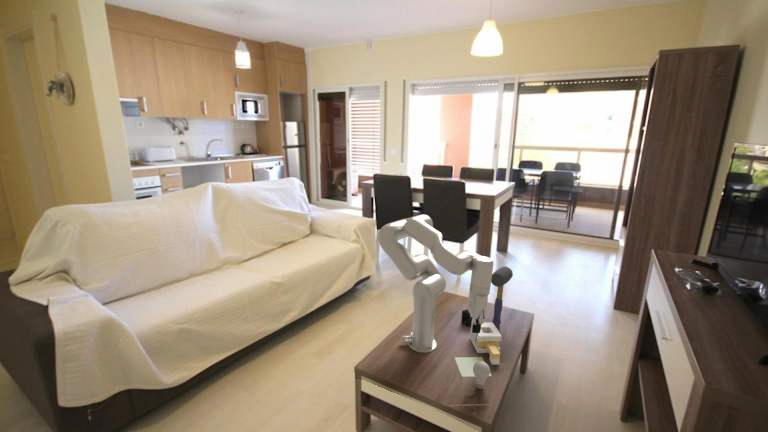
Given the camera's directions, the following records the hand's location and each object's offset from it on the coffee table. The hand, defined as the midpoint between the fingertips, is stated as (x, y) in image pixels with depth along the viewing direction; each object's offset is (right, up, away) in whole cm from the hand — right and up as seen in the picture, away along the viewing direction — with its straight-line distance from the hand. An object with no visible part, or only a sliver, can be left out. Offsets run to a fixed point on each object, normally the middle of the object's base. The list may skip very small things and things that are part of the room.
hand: (474, 329), depth 141 cm
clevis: (+9, -14, +15) cm, 22 cm away
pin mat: (0, -17, +4) cm, 17 cm away
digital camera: (+9, -9, +38) cm, 40 cm away
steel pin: (0, -4, +1) cm, 4 cm away
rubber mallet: (+20, -10, +36) cm, 42 cm away
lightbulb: (0, -20, -8) cm, 21 cm away
